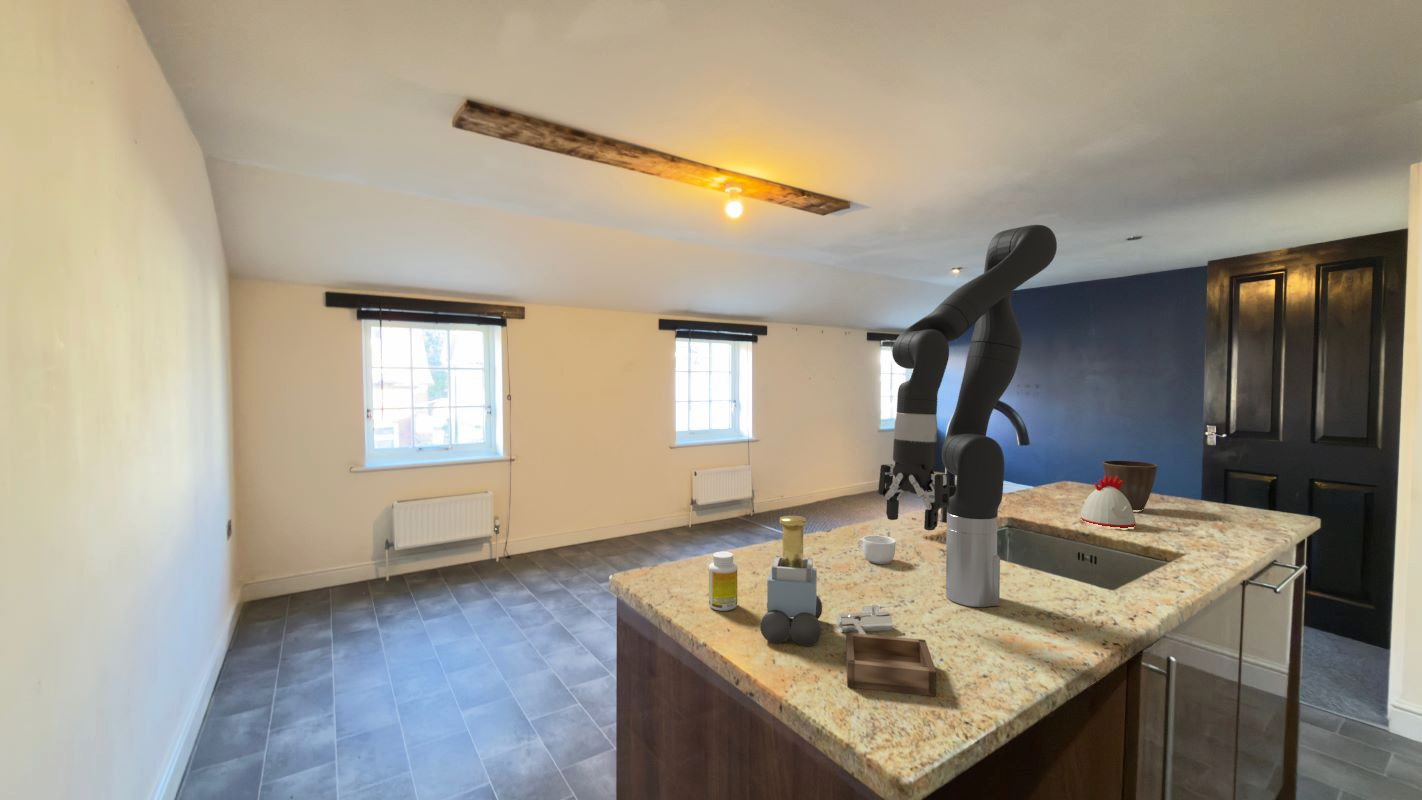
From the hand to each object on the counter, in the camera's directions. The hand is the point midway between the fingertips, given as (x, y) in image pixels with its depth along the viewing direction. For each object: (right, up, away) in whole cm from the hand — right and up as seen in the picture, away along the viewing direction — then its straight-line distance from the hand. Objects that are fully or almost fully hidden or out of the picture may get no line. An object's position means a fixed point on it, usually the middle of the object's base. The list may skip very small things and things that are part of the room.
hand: (910, 524), depth 106 cm
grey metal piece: (-10, -18, -9) cm, 22 cm away
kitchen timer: (+84, -15, +68) cm, 109 cm away
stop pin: (-23, -7, -6) cm, 25 cm away
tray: (-11, -18, -21) cm, 30 cm away
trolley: (-23, -17, -6) cm, 29 cm away
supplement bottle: (-35, -17, +5) cm, 39 cm away
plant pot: (+105, -14, +87) cm, 137 cm away
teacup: (+3, -16, +33) cm, 37 cm away
